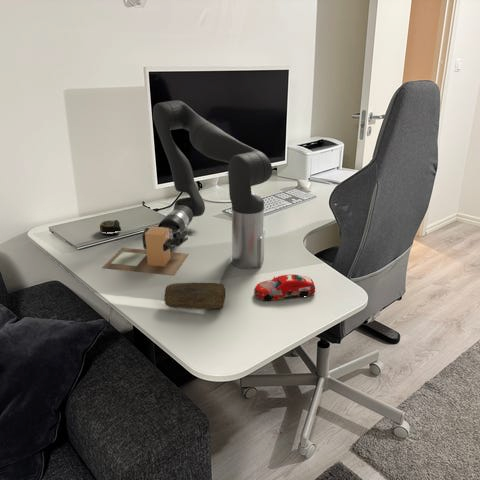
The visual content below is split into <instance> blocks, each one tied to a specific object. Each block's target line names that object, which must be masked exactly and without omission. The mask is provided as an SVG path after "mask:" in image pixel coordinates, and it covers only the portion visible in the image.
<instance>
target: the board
mask: <svg viewBox="0 0 480 480" xmlns="http://www.w3.org/2000/svg"><path fill="white" fill-rule="evenodd" d="M170 255H171V259H170V260H169V262H168V263H167V264H166V266H165V267H163V266H153V265H148V261H147V251H146V249H142V248H141V249H140V248H128V247H122V248H120V249H119V250H118V251H117V252H116V253H115V254H114V255H113V256H112V257H111V258H110V259H109V260H108V261H107V262H106V263H105V264H104V265H103V266H102V267H101V269H107V270H117V271H125V272H126V271H127V272H138V273H146V274H157V275H165V276H175V275H176V274H177V272H178V271H179V269H180V268H181V267H182V265H183V264H184V262H185V261H186V259H187V258H188V256H189V255H190V253H183V252H174V251H170Z"/></svg>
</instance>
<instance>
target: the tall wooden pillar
mask: <svg viewBox="0 0 480 480" xmlns="http://www.w3.org/2000/svg"><path fill="white" fill-rule="evenodd" d="M167 239H169V228H162V227H158V226H151V227H149V230H148V231H147V232H146V233H145V240H146V249H145V250H146V251H147V261H148V265H153V266H163V267H165V266H166V264H167V263H168V262H169V260H170V259H171V255H170V252H171V248H170V249H168V250H167V251H164V250H163V244H164V243H165V242H166V240H167Z"/></svg>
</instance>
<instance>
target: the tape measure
mask: <svg viewBox="0 0 480 480" xmlns="http://www.w3.org/2000/svg"><path fill="white" fill-rule="evenodd" d="M120 223H121V222H120V221H119V220H118V219H115V220H104V221H102V222H101V223H100V225H99V230H100V233H101V232H106V233H107V232H115V231H121V232H122V229H121V228H122V227H121V225H120Z"/></svg>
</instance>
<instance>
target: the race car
mask: <svg viewBox="0 0 480 480" xmlns="http://www.w3.org/2000/svg"><path fill="white" fill-rule="evenodd" d="M253 293H254V296H255V298H257V299H259V300H260V301H264V302H266V301H267V302H272V300H273V301H279V300H287V299H288V300H289V299H297V298H300V297H304V296H307V297H310V296H313V295H314V294H315V293H316V285H315V283H314V281H313V279H312V278H311V277H310V276H306V275H302V274H283V275H278V276H276V277H275V276H273V278H272V279H269V280H265V281H260V282H258V283H257V284H256V285H255V286H254V289H253ZM267 302H266V303H267Z"/></svg>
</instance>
